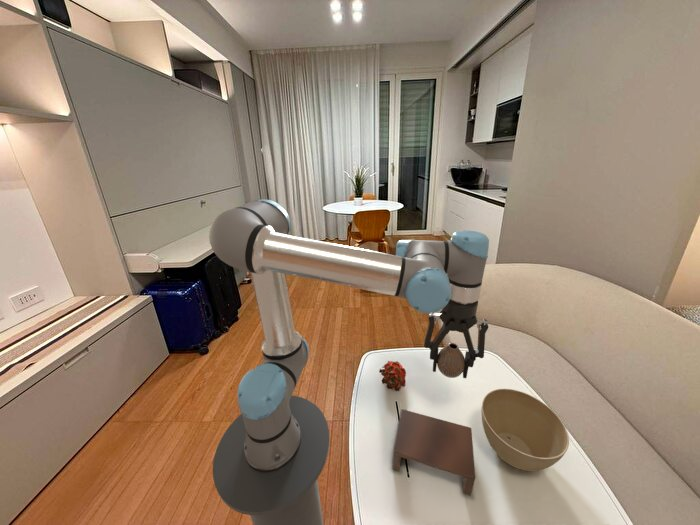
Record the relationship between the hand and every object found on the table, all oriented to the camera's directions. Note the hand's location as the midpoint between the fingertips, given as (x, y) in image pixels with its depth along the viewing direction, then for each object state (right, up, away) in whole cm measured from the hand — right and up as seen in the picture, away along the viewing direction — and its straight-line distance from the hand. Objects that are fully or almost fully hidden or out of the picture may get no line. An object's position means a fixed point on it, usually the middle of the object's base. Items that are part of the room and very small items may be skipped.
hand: (449, 371), depth 71 cm
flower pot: (+16, -20, -2) cm, 26 cm away
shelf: (-6, -21, -3) cm, 22 cm away
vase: (0, 0, 0) cm, 0 cm away
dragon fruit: (-12, -12, +20) cm, 27 cm away
